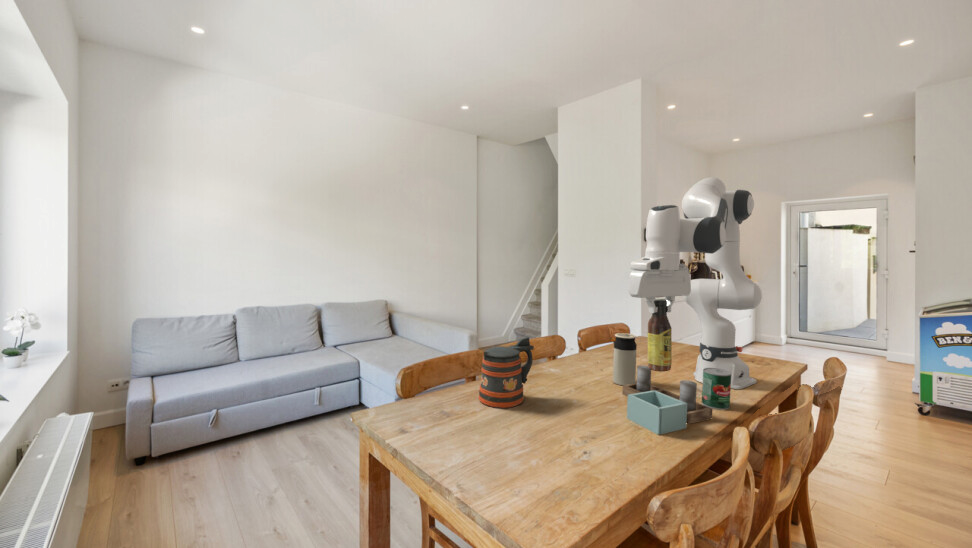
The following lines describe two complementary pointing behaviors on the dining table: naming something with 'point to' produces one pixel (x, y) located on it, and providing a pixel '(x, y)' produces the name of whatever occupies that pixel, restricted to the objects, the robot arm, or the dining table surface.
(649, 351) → the sauce bottle
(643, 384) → the rack
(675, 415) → the box
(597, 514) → the dining table surface
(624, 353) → the travel mug
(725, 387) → the canned tomato
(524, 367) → the beer stein
